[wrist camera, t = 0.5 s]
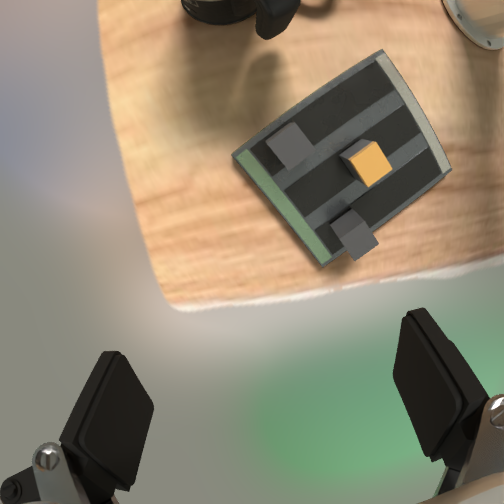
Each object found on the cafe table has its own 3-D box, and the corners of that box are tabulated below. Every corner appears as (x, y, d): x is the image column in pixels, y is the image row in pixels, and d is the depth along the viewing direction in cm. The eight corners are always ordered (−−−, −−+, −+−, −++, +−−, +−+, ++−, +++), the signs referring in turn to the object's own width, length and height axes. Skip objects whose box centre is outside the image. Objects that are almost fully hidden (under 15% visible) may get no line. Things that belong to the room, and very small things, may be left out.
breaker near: (289, 122, 27) (294, 122, 23) (308, 146, 28) (316, 150, 24) (265, 140, 27) (266, 143, 24) (284, 164, 28) (288, 171, 25)
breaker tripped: (361, 138, 27) (376, 141, 23) (376, 162, 28) (392, 169, 24) (338, 155, 28) (350, 160, 24) (354, 178, 29) (368, 187, 25)
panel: (377, 51, 24) (382, 48, 23) (445, 167, 30) (453, 170, 28) (232, 153, 30) (230, 155, 28) (320, 261, 35) (322, 268, 33)
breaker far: (352, 208, 30) (364, 220, 26) (365, 229, 31) (379, 243, 27) (329, 224, 31) (339, 239, 27) (344, 245, 32) (354, 261, 28)
